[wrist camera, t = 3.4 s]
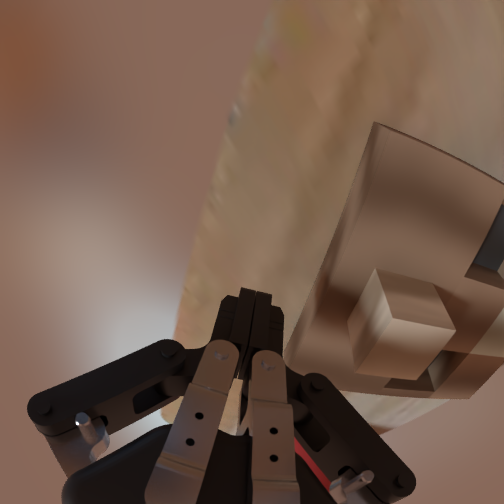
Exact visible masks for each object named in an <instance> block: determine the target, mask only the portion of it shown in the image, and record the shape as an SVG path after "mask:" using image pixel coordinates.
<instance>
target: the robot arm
mask: <svg viewBox="0 0 504 504" xmlns="http://www.w3.org/2000/svg"><path fill="white" fill-rule="evenodd" d="M255 294H256V295H255ZM271 301H272V294H268V293H263V292H259V291H257V292H256V291H255V290H251V289H247V288H242V287H241V290H240V293H239V297H234V296H230V295H227V296H226V297H225V298H224V299H223V300H222V301H221V304H220V308H219V311H218V315H217V318H216V322H215V325H214V329H213V333H212V336H211V339H210V341H209V343H208V344H207V345H205V346H204V347H202V348H198V349H185V348H184V347H183V346H182V345H181V344H180V343H179V342H177V341H175V340H171V339H164V340H160V341H157V342H156V343H153V344H151V345H149V346H147V347H145V348H142V349H140V350H138V351H136V352H133V353H131V354H129V355H127V356H125V357H122V358H120V359H118V360H115V361H113V362H111V363H109V364H106V365H104V366H102V367H99V368H97V369H95V370H93V371H90V372H88V373H85V374H83V375H81V376H78V377H76V378H74V379H71V380H69V381H67V382H65V383H62V384H59V385H57V386H55V387H52V388H50V389H47V390H45V391H42V392H40V393H37V394H35V395H34V396H33V397H32V398H31V399H30V400H29V402H28V405H27V412H28V415H29V417H30V419H31V420H32V421H33V423H34V424H35V426H36V428H37V430H38V431H39V432H40V434H41V435H42V436H43V438H44V439H45V440H46V441H47V442H48V444H49V446H50V448H51V450H52V451H53V453H54V455H55V457H56V459H57V461H58V462H59V464H60V466H61V468H62V469H63V471H64V472H65V474H66V476H67V478H68V479H67V481H66V482H65V484H64V487H63V490H62V504H392V503H394V502H396V501H399V500H401V499H403V498H404V497H406V496H408V495H410V494H411V493H412V492H413V491H414V489H415V486H416V478H415V476H414V474H413V472H412V471H411V470H410V469H409V468H408V467H407V466H406V465H405V463H404V462H403V461H402V460H401V459H400V458H399V457H398V456H397V455H396V454H395V453H394V452H393V451H392V449H391V448H390V447H389V446H388V445H387V444H386V443H385V442H384V441H383V440H382V438H380V436H379V435H378V434H377V433H376V432H375V431H374V430H373V428H372V427H371V426H370V425H369V424H368V423H367V422H366V421H365V420H364V418H363V417H362V416H361V415H360V414H359V413H358V412H357V411H356V410H355V408H354V407H353V406H352V405H351V404H350V403H349V402H348V401H347V399H346V398H345V397H344V396H343V395H342V394H341V393H340V392H339V390H338V389H337V388H336V387H335V386H334V385H333V384H332V382H331V381H330V380H329V379H328V378H327V377H326V376H324V375H322V374H320V373H308V374H306V375H305V376H303V375H301V374H299V373H296V372H294V371H293V370H291V369H290V368H289V367H288V366H287V365H286V364H285V362H284V360H283V357H282V352H283V330H284V314H283V312H282V310H281V308H280V307H277V306H272V305H271ZM239 369H240V370H239ZM238 372H239V375H238ZM237 375H238V379H241V380H243V384H242V388H241V391H240V394H239V408H238V423H237V432H236V436H234V435H230V434H228V433H225V432H223V431H221V430H219V429H218V428H219V424H220V421H221V418H222V414H223V411H224V407H225V404H226V401H227V397H228V393H229V390H230V388H231V385H232V382H233V379H234V378H237ZM180 396H184V398H183V400H182V403H181V405H180V408H179V410H178V413H177V415H176V417H175V420H174V422H173V424H168V425H163V426H159V427H157V428H154V429H152V430H151V431H149V432H147V433H145V434H144V435H142V436H140V437H139V438H137V439H135V440H134V441H132V442H130V443H128V444H127V445H125V446H123V447H121V448H120V449H118V450H116V451H114V452H112V453H111V454H109V455H107V456H105V457H103V458H101V459H100V460H98V461H96V460H97V458H98V457H99V455H101V454H102V453H103V452H105V451H106V450H107V448H108V446H109V443H110V440H109V435H111V434H113V433H114V432H116V431H119V430H121V429H122V428H124V427H126V426H128V425H130V424H132V423H134V422H136V421H138V420H140V419H142V418H143V417H145V416H147V415H149V414H151V413H153V412H154V411H156V410H158V409H160V408H162V407H164V406H166V405H167V404H169V403H171V402H173V401H174V400H176V399H178V398H179V397H180ZM294 437H295V438H296V440H297V441H298V442H299V444H300V445H301V446H302V447H303V449H304V450H305V451H306V453H307V454H308V455H309V456H310V458H311V459H312V460H313V461H314V463H315V464H316V465H317V466H318V467H319V469H320V470H321V471H322V472H323V474H324V475H325V476H326V477H327V478H328V480H329V481H330V482H331V484H330V488H329V492H330V493H329V492H328V491H327V489H326V488H325V487H324V485H323V484H322V483H321V482H320V480H319V479H318V478H317V476H316V475H315V474H314V472H313V471H312V470H311V468H310V467H309V466H308V464H307V463H306V462H305V460H304V459H303V458H302V457H301V456H300V455H299V454H298V453H296V452H295V443H294Z"/></svg>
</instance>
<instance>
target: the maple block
mask: <svg viewBox="0 0 504 504" xmlns="http://www.w3.org/2000/svg"><path fill="white" fill-rule="evenodd" d="M347 323H348V329H349V336H350V342H351V348H352V355H353V362H354V369H355V373H359V374H366V375H373V376H381V377H390V378H399V379H408V380H417V378H418V377H419V376H420V375H421V374H422V373H423V372H424V370H425V369H426V368H427V367H428V366H429V365H430V363H431V362H432V361H433V360H434V359H435V357H436V356H437V355H438V354H439V352H440V351H441V350H442V349H443V347H444V346H445V345H446V344H447V342H448V341H449V340H450V338H451V337H452V336H453V334H454V333H455V332H456V329H455V327H454V325H453V323H452V321H451V319H450V317H449V315H448V313H447V311H446V309H445V307H444V305H443V303H442V301H441V299H440V297H439V295H438V293H437V291H436V289H435V287H434V286H433V284H432V283H430V282H426V281H422V280H419V279H415V278H411V277H408V276H404V275H400V274H397V273H393V272H389V271H386V270H382V269H378V268H375V269H374V271H373V273H372V275H371V277H370V279H369V281H368V283H367V285H366V287H365V289H364V291H363V292H362V294H361V296H360V298H359V300H358V302H357V304H356V306H355V308H354V309H353V311H352V313H351V315H350V317H349V318H348V320H347Z"/></svg>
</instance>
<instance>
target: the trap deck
mask: <svg viewBox="0 0 504 504" xmlns="http://www.w3.org/2000/svg"><path fill="white" fill-rule="evenodd" d="M375 268H378V269H382V270H386V271H389V272H393V273H397V274H400V275H404V276H408V277H411V278H415V279H419V280H422V281H426V282H430V283H432V284H433V286H434V287H435V289H436V291H437V293H438V295H439V297H440V299H441V301H442V303H443V305H444V307H445V309H446V311H447V313H448V315H449V317H450V319H451V321H452V323H453V325H454V327H455V329H456V332H455V333H454V334H453V336H452V337H451V338H450V340H449V341H448V342H447V344H446V345H445V346H444V347H443V349H442V350H441V351H440V352H439V354H438V355H437V356H436V357H435V359H434V360H433V361H432V362H431V363H430V365H429V366H428V367H427V368H426V369H425V370H424V372H423V373H422V374H421V375H420V376H419V377H418V378H417V380H408V379H399V378H390V377H381V376H373V375H366V374H359V373H355V369H354V362H353V355H352V348H351V342H350V336H349V329H348V323H347V320H348V318H349V317H350V315H351V313H352V311H353V309H354V308H355V306H356V304H357V302H358V300H359V298H360V296H361V294H362V292H363V291H364V289H365V287H366V285H367V283H368V281H369V279H370V277H371V275H372V273H373V271H374V269H375ZM284 362H285V364H286V365H287V366H288V367H289V368H290V369H291V370H293V371H294V372H296V373H299V374H301V375H303V376H305V375H306V374H308V373H320V374H322V375H324V376H326V377H327V378H328V379H329V380H330V381H331V382H332V384H333V385H334V386H335V387H336V388H337V389H338V390H342V391H350V392H358V393H367V394H377V395H387V396H399V397H414V398H434V399H469V398H470V397H471V396H472V395H473V394H474V393H475V392H476V391H477V390H478V389H479V388H480V387H481V386H482V385H483V384H484V383H485V382H486V381H487V380H488V379H489V378H490V377H491V375H493V373H494V372H495V371H496V370H497V369H498V368H499V367H500V366H501V365H502V363H503V362H504V183H503V182H501V181H499V180H497V179H496V178H494V177H492V176H491V175H489V174H487V173H485V172H483V171H482V170H480V169H478V168H476V167H474V166H472V165H470V164H469V163H467V162H465V161H463V160H461V159H459V158H457V157H455V156H453V155H451V154H449V153H447V152H445V151H443V150H441V149H438V148H436V147H434V146H432V145H430V144H428V143H425V142H423V141H421V140H419V139H416V138H414V137H412V136H409V135H407V134H405V133H402V132H400V131H397V130H395V129H392V128H390V127H387V126H385V125H382V124H379V123H377V122H374V123H373V126H372V129H371V132H370V135H369V138H368V142H367V145H366V148H365V151H364V154H363V157H362V159H361V162H360V165H359V168H358V171H357V174H356V177H355V180H354V182H353V185H352V188H351V191H350V194H349V196H348V199H347V202H346V205H345V207H344V210H343V213H342V215H341V218H340V221H339V223H338V226H337V228H336V231H335V234H334V236H333V239H332V241H331V244H330V246H329V249H328V251H327V254H326V256H325V259H324V261H323V264H322V266H321V269H320V271H319V273H318V276H317V278H316V281H315V283H314V285H313V288H312V290H311V293H310V295H309V297H308V300H307V302H306V304H305V306H304V309H303V311H302V313H301V316H300V318H299V320H298V322H297V325H296V327H295V329H294V331H293V333H292V336H291V338H290V340H289V342H288V344H287V347H286V349H285V351H284Z"/></svg>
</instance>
